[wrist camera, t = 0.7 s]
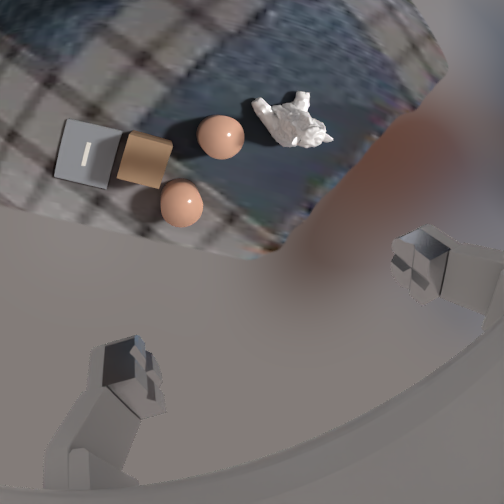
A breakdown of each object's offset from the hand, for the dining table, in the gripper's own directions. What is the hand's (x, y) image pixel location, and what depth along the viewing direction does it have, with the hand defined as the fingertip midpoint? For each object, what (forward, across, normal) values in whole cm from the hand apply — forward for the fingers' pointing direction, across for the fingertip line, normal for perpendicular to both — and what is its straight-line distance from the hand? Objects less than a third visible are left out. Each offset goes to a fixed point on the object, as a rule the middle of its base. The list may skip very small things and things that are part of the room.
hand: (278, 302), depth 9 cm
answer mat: (+39, +14, -3) cm, 42 cm away
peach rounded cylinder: (+39, +3, +9) cm, 40 cm away
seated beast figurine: (+39, -16, +2) cm, 42 cm away
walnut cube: (+39, +6, +1) cm, 40 cm away
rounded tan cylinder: (+39, -5, +1) cm, 39 cm away
